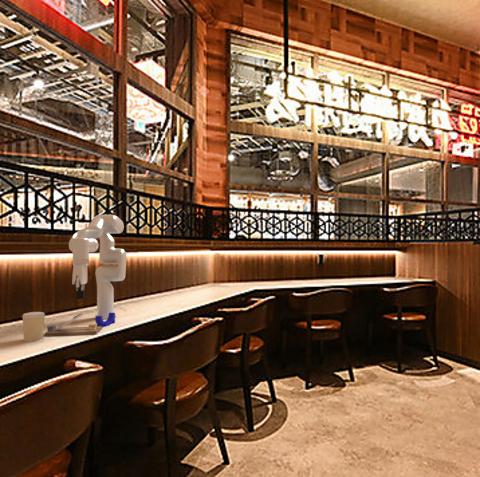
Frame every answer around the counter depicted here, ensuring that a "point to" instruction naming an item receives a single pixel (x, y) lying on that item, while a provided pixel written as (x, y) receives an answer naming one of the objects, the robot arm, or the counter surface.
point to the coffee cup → (33, 326)
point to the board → (73, 330)
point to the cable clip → (106, 323)
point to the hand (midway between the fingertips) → (80, 298)
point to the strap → (70, 320)
